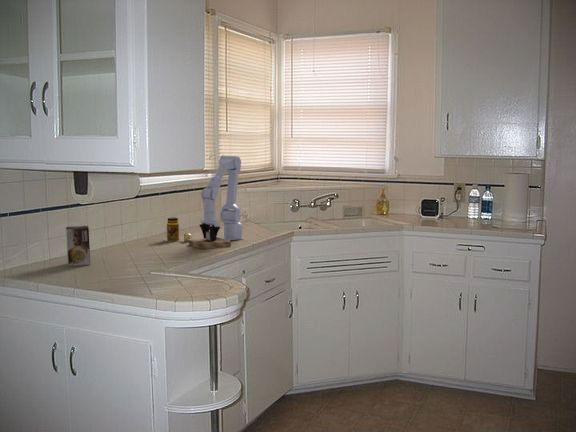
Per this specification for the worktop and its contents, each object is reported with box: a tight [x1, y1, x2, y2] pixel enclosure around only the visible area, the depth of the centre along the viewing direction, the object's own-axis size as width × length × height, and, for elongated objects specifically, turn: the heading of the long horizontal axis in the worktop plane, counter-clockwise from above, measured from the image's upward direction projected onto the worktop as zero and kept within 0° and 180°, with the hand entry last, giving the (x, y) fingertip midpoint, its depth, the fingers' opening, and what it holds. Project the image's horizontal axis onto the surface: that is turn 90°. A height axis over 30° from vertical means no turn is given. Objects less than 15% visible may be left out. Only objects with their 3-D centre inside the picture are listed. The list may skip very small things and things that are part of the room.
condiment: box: [163, 216, 182, 243], centre depth 334 cm, size 7×8×12 cm
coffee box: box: [65, 225, 91, 267], centre depth 275 cm, size 9×6×16 cm
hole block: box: [188, 236, 232, 250], centre depth 322 cm, size 16×14×2 cm
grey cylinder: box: [206, 230, 212, 242], centre depth 321 cm, size 4×4×7 cm
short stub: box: [183, 233, 192, 243], centre depth 332 cm, size 4×4×4 cm
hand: (209, 239), depth 321 cm, fingers open, 7 cm apart
